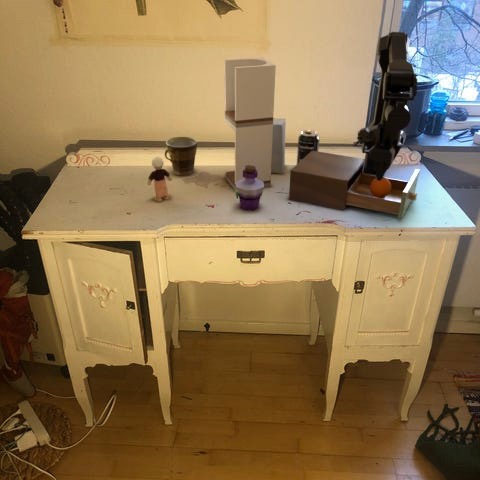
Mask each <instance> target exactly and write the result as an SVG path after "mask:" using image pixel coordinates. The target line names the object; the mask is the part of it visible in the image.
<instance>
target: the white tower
mask: <svg viewBox="0 0 480 480" xmlns="http://www.w3.org/2000/svg"><path fill="white" fill-rule="evenodd" d="M223 63H224V122H225V123H226V125H227V126H228V127H230V128H231V130H233V132H234V170H230V171H225V179H226V181H227V182H228V183H229V185H230V186H231V187H232V188H233V190H234V191H235V192H236V182H237V181H239V180H242V179H245V178H244V177H243V170H245V166H247V165H252V166H255V167H256V170H257V177H256V178H255V179H257V180H260V181H262V182H264V188H269V187H271V182H272V181H271V179H272V173H271V159H272V136H273V118H274V114H275V113H274V111H275V110H274V109H275V91H276V90H275V88H276V68H277V67H276V64H274V63H272V62H271V61H269V60H267V59H266V58H264V57H250V58H249V57H248V58H247V57H246V58H233V59H232V58H230V59H224V62H223Z"/></svg>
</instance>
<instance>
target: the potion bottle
mask: <svg viewBox="0 0 480 480" xmlns="http://www.w3.org/2000/svg"><path fill="white" fill-rule="evenodd" d="M243 177H244V178H245V179H242V180H239V181H237V182H236V191H235V197H236V199H237V200H239V204H240V205H239V207H240V209H241V210H244V211H247V212H249V211H252V212H254V211H256V210H258V209H259V206H260V201H261V197H263V192H264V188H265V187H264V182H262V181H260V180H257V179H255V178H256V177H257V170H256V167H255V166H252V165H247V166H245V170H243Z"/></svg>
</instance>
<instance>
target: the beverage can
mask: <svg viewBox="0 0 480 480" xmlns="http://www.w3.org/2000/svg"><path fill="white" fill-rule="evenodd" d="M319 146H320V136H319V132H317V131H316V130H312V129H305V130H302V131H300V134H299V136H298V139H297V151H296V152H297V153H296V155H297V156H296V165H297V164H298V163H299V162H300V161H301V160H302V159H304V158H305V157H306V156H307V155H308V154H309V153H310V152H311V151H318V152H319V149H320V147H319Z"/></svg>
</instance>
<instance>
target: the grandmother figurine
mask: <svg viewBox="0 0 480 480" xmlns="http://www.w3.org/2000/svg"><path fill="white" fill-rule="evenodd" d="M151 165H152V167H153V168H154V169H155V170H153V171H151V173H150V174H149V176H148V179H147V182H146V183H147V186H150V185H152V181H153V184H154V193H155V194H154V195H155V197H154V201H157V202H162V201H163V200H169V199H170V196H169V191H168V185H167V181H166V178H167V179H168V181H169V182H172V181H173V178H172V176H171V175H170V173H169V171H167V170H166V169H165V168H163V166H164V160H163V158H161V157H160V156H155V157H153V159H152V161H151Z"/></svg>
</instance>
